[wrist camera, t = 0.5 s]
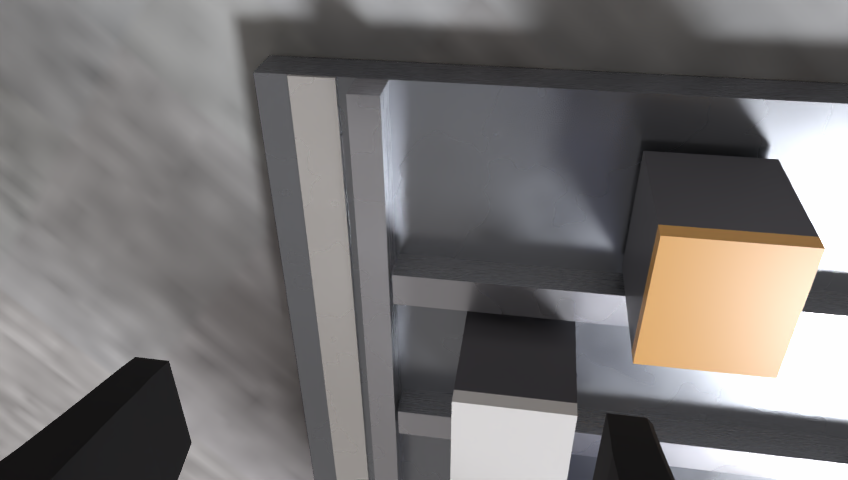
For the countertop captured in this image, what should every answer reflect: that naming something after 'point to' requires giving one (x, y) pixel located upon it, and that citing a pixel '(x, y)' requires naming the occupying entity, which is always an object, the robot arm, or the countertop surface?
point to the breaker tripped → (716, 263)
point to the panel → (532, 253)
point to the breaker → (514, 399)
